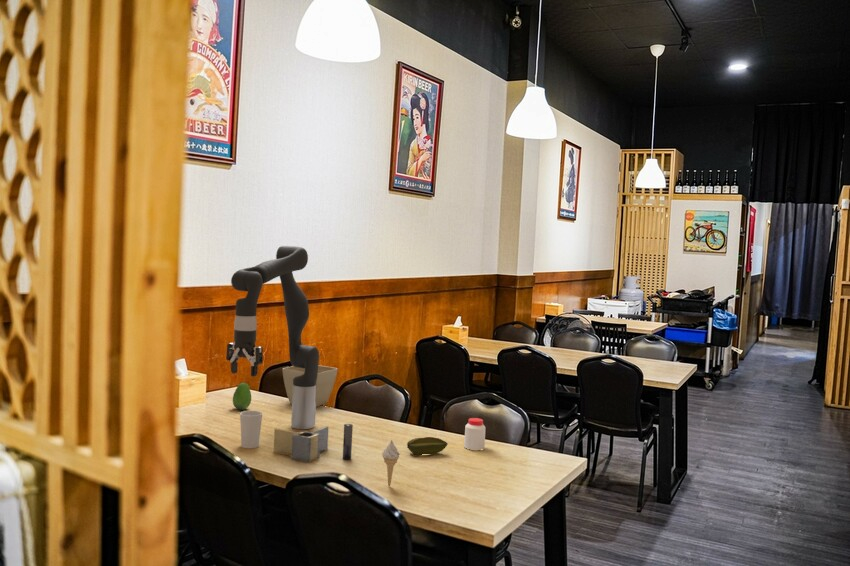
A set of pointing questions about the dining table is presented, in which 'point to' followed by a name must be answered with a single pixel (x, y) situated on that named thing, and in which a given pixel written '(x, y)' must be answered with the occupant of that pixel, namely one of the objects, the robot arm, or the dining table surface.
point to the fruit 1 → (242, 396)
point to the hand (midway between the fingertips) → (243, 374)
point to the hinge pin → (347, 441)
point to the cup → (250, 428)
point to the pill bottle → (475, 434)
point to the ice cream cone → (390, 459)
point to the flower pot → (322, 383)
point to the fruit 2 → (426, 445)
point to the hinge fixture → (301, 443)
